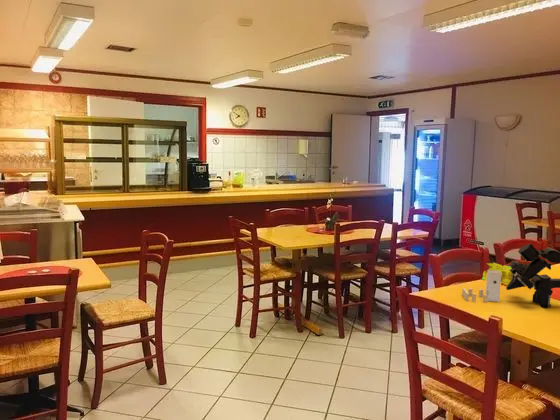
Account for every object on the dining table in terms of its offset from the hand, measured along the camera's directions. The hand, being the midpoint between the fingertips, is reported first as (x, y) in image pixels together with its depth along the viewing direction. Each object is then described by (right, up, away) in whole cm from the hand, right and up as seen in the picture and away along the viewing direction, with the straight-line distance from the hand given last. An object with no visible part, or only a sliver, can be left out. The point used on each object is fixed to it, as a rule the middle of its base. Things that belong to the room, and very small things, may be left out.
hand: (506, 289), depth 222 cm
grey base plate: (-10, -6, +3) cm, 12 cm away
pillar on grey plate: (-6, -5, +2) cm, 8 cm away
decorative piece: (+21, -3, +42) cm, 47 cm away
